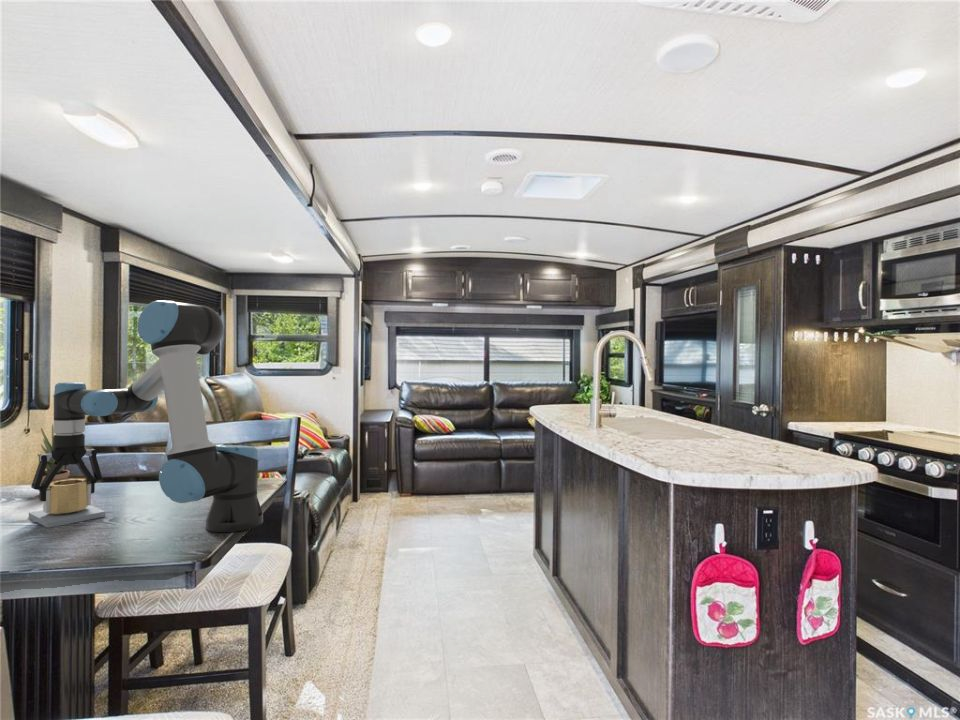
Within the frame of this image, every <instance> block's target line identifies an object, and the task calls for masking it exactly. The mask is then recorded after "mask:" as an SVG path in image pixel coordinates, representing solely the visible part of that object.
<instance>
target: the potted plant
mask: <svg viewBox="0 0 960 720" xmlns="http://www.w3.org/2000/svg"><path fill="white" fill-rule="evenodd" d="M53 426H54V423H52V424H51V443H50V441H49V439H48V438H47V436H46V433H45V432H44V430H43V428H42V427H40V428H41V434H42V437H43V438H42V441H43V444H44V446H43V444H40V446H41V449H42V450H43V451H44V453H45V454H50V453H51V452H52V450H53V436H54V435H55V433H53ZM39 455H40V454H39V453H37V456H38V457H39ZM54 462H55V460H54V459H53V458H52V457H51V458H50V460H49V461H48V462H47V466H46V469H45V472H44V475H43V478H42V481H41V483H42V482H43V480H44V479H45V477H46V476H47V474H48V472H49V471H50V469H51V468H52V465H53V463H54ZM64 467H65V466H63V465H62V467H61V468H60V469H59V471H58V472H57V474H56V475H55V477H54V478H53V480H52V482H55V481H60V480H67V479H69V476H70V470H68V469H65V468H64ZM40 485H41V484H40Z"/></svg>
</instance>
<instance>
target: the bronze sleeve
mask: <svg viewBox="0 0 960 720" xmlns="http://www.w3.org/2000/svg"><path fill="white" fill-rule="evenodd" d="M47 489H48V490H50V513H54V514H59V513H69V512H75V511H80V510H83V509H86V508H87V507H88V480H87V479H86V478H70V479H69V478H67V480H60V481H55V482H51V483H50V485H49V486H48V488H47Z"/></svg>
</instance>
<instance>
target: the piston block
mask: <svg viewBox="0 0 960 720" xmlns="http://www.w3.org/2000/svg"><path fill="white" fill-rule="evenodd" d="M105 517H106V510H103V509H101V508H98V507H96V506H93V505H89V506H88V507H87V508H86V509H83V510H80V511H75V512H69V513H59V514H54V513H45V512H43V509H41V510H35V511H29V512H28V518H29V519H30V520H32V521H34V522H36V523H38V524H40V525H42V526H43V527H45V528H47V529H48V528H49V529H50V528H53V527H58V526H63V525H68V524H69V525H70V524H74V523H80V522H83V521H84V522H85V521H89V520H93V519H99V518H105Z"/></svg>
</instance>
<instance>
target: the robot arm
mask: <svg viewBox="0 0 960 720" xmlns="http://www.w3.org/2000/svg"><path fill="white" fill-rule="evenodd" d="M137 334H138V336H139V338H140V339H142V341H143V342H144V343H146V344H149V345H150V348H151V354H153V355H154V356H155V357H157V358H158V359H157V360H156V361H155V362H154V363H153V364H152V365H151V366H150V367H148V369H147V370H145V372H143V374H141V375H140V377H138V378H137V379H136V380H135V381H134V382H133V383H132V384H131V385H129V387H127V388H115V389H114V388H113V389H110V388H109V389H87V386H86V383H85V382H81V381H79V382H76V381H75V382H73V381H72V382H68V381H67V382H57V383H56V384H55V385H54V394H53V396H52V397H53V433H54V436H53V450H52V452H51V453H50V454H46V453H45V454H43V453H40V454H39V456H38V465H37V468H36V470H35V474H34V477H33V480H32V482H31V487H30V488H31V489H32V490H33V489H34V490H37V491H38V492H39V494H38V495H39V497H38V500H39V502H41V503H43V504H42V510H43V512H45V513H50V490H48V489H47V488H48V486H49V485H50V483H51V482H52V480H53V478H54V477H55V475H56V474H57V472H58V471H59V469H60V468H61V467H62V465H63V466H64V467H66V466H69V465H76V466H77V467H78V469H79V471H80V472H81V473H82V475H83V477H84V479H86V480H88V506H89V505H91V503H92V499H91V498H92V494H94V493H95V485H96V484H97V482H98V481H101V480H103V476H102V472H101V469H100V465H99V462H98V458H97V453H98V450H97V449H94V448H90V449H87V448H86V447H85V446H86V445H85V443H86V442H85V441H86V434H85V433H84V432H86V416H91V417H92V416H93V417H105V416H109V415H114V414H115V415H116V414H126V413H143V412H148V411H151V410H153V409H155V408H156V406H157V403H158V402H159V401H158V400H159V397H158V396H159V395H160V394H161V393H163V391H164V398H165V405H166V412H167V419H168V425H169V432H170V439H171V448H170V449H169V451H168V452H167V453H166V458H167V461H166V462H164V463H163V464H162V465H161V467H160V471H159V472H158V481H159V482H158V483H159V486H160V488H161V491H162V492H163V493H164V495H165V496H166V497H167V498H168V499H170V500H171V501H173V502H175V503H178V504H188V503H190V502H192V503H193V502H198V501H201V500H202V499H206V498H210V497H213V498H212V502H211V505H210V508H209V510H208V512H207V513H208V514H207V516H206V519H205V529H206V531H210V532H212V533H236V532H242V531H243V532H244V531H246V530H251V529H255V528H257V527H259V526H261V525H263V523H264V513H263V511H262V507H261V504H260V501H259V497H258V480H259V479H258V477H259V476H258V475H259V471H258V470H259V457H258V456H259V455H258V454H259V453H258V449H257V448H256V447H255V446H252V445H251V446H250V445H240V444H239V445H237V444H236V445H234V444H217V445H216V444H215V443H213V442H212V441H210V439H209V434H208V428H207V422H206V414H205V408H204V402H203V395H202V388H201V382H200V376H199V367H198V361H197V360H198V359H200V357H201V356H205V355H208V354H209V353H210V352H211V351H213V350H214V349H215V348H216V347H217V345H218V344H219V343H220V342H221V339H222V338H223V334H224V324H223V321H222V319H221V316H220V315H219V314H218V312H217V311H216V310H214V309H213V308H211V307H209V306H206V305H201V304H192V303H185V302H180V301H179V302H178V301H174V300H154V301H152V302H150V303H148V304H147V305H146V306H145V307H144V308H143V310H142V311H141V313H139V317H138V321H137ZM85 455H86V456H87V457H88V460H89V463H90V466H91V467H90V468H91V470H92V473H91V472H90V470H89V469H88V467H87V466H86V464H85V462H84V460H83V458H84V456H85ZM51 457H52V458H53V459H54V460H55V462H54V463H53V465H52V468H51V469H50V471H49V472H48V474H47V476H46V477H45V479H44V480H43V482H42V483H41V481H42V478H43V475H44V472H45V470H47V469H46V466H47V462H48V461H49V460H50V458H51ZM92 474H93V475H92ZM40 484H41V485H40ZM91 506H92V505H91Z"/></svg>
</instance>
